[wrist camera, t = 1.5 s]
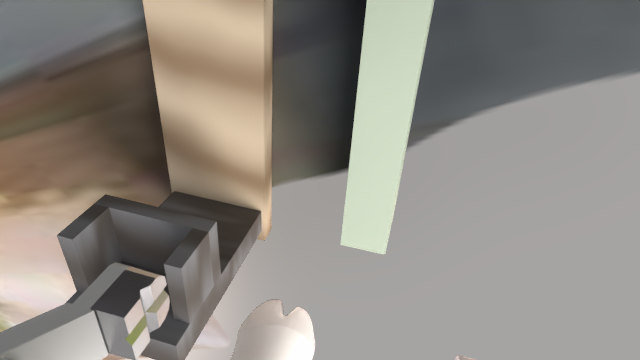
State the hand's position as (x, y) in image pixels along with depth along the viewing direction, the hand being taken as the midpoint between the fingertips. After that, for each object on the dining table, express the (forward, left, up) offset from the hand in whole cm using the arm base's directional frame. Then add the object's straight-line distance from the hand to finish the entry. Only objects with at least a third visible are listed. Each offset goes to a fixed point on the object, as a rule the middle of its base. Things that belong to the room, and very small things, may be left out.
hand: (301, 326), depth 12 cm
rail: (0, 0, -19) cm, 19 cm away
